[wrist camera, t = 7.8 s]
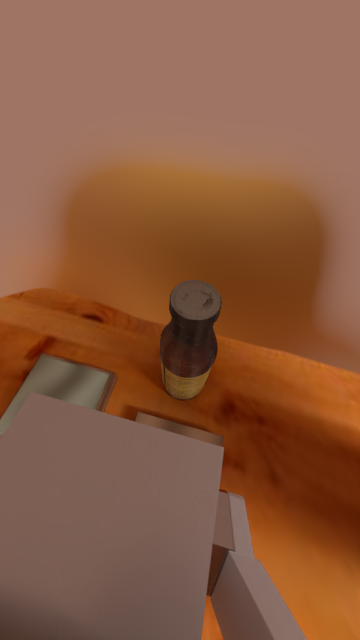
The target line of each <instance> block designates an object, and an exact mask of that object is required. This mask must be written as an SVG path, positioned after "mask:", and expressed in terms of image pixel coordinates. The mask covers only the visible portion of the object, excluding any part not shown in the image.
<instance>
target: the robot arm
mask: <svg viewBox="0 0 360 640" xmlns="http://www.w3.org/2000/svg"><path fill="white" fill-rule="evenodd" d="M5 433H6V432H5ZM5 433H4V434H2V435H1V436H0V441H1V439H2V438H3V436H4V435H5ZM206 595H207V596H210V597H211V599H210V600H211V603H212V606H213V609H214V612H215V615H216V618H217V621H218V624H219V627H220V630H221V633H222V636H223V639H224V640H307V639H306V637H305V635H304V634H303V632H302V630H301V629H300V627H299V625H298V624H297V622H296V620H295V618H294V617H293V615H292V613H291V612H290V610H289V608H288V607H287V605H286V603H285V602H284V600H283V598H282V597H281V595H280V593H279V592H278V590H277V588H276V587H275V585H274V583H273V582H272V580H271V578H270V577H269V575H268V573H267V572H266V570H265V568H264V567H263V565H262V563H261V562H260V560H258V559H255V558H254V553H253V547H252V541H251V535H250V530H249V524H248V518H247V512H246V506H245V500H244V498H243V496H241V495H238V494H235V493H231V492H228V491H225V490H222V489H219V495H218V504H217V512H216V520H215V528H214V536H213V544H212V553H211V561H210V569H209V577H208V585H207V593H206Z"/></svg>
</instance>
